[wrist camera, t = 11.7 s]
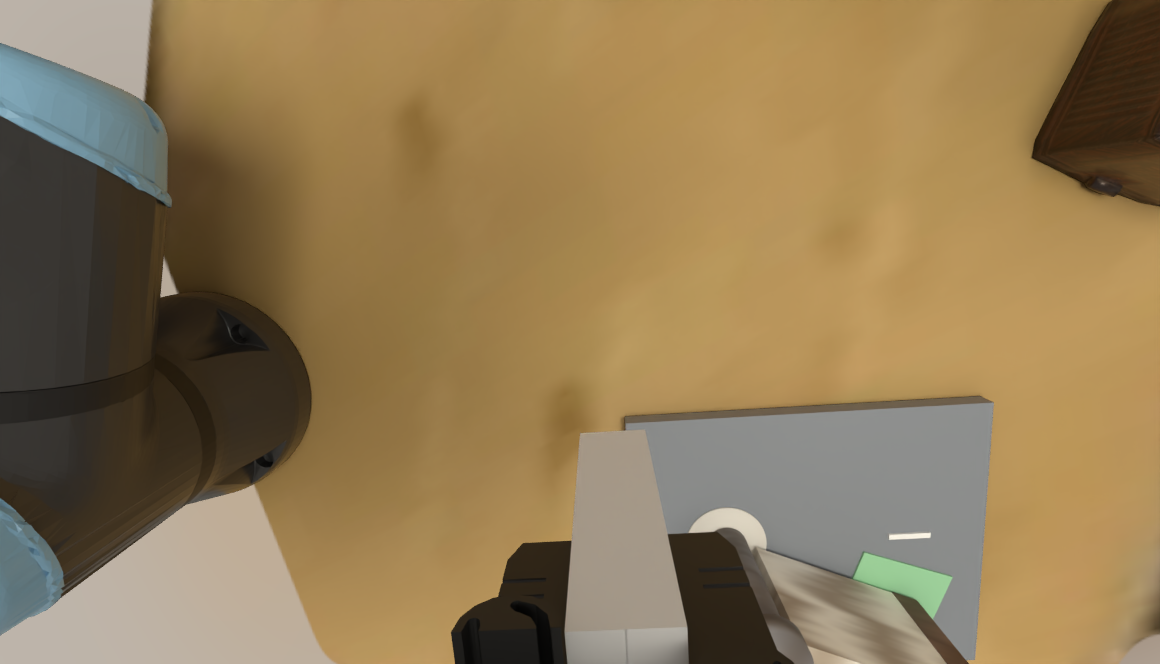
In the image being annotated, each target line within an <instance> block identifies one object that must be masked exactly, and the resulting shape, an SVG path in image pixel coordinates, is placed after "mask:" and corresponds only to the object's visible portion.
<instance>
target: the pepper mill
mask: <svg viewBox="0 0 1160 664" xmlns="http://www.w3.org/2000/svg"><path fill="white" fill-rule="evenodd" d="M1033 158H1035V159H1037V160H1039V161H1041V162H1043V163H1045V164H1047V165H1049V166H1051V167H1053V168H1055V169H1057V170H1059V171H1061V172H1063V173H1065V174H1067V175H1069V176H1071V177H1073V178H1075V179H1077V180H1079V181H1081V182H1083V183H1085V185H1086V187H1087V188H1089V189H1091V190H1093V191H1095V192H1098V193H1101V194H1104V195H1108V196H1111V197H1114V196H1115V195H1117V194H1119V195H1121V196H1124V197H1127V198H1130V199H1133V200H1136V201H1139V202H1141V203H1146V204H1151V205H1157V206H1160V0H1112V1H1111V2H1109V4H1108V5H1107V7H1106V8H1105V10H1104V12H1103V13H1102V15H1101V17H1100V18H1099V20H1098V21H1097V23H1096V25H1095V26H1094V28H1093V29H1092V31H1091V33H1090V35H1089V36H1088V38H1087V40H1086V42H1085V44H1084V46H1083V48H1082V50H1081V52H1080V54H1079V56H1078V58H1077V60H1076V62H1075V64H1074V66H1073V67H1072V69H1071V71H1070V73H1069V75H1068V77H1067V79H1066V81H1065V83H1064V85H1063V87H1062V89H1061V91H1060V93H1059V95H1058V97H1057V99H1056V100H1055V102H1054V104H1053V106H1052V108H1051V110H1050V112H1049V114H1048V116H1047V118H1046V120H1045V122H1044V124H1043V126H1042V128H1041V130H1040V132H1039V134H1038V136H1037V138H1036V140H1035V146H1034V152H1033Z"/></svg>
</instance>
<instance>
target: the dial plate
mask: <svg viewBox="0 0 1160 664" xmlns="http://www.w3.org/2000/svg"><path fill="white" fill-rule="evenodd" d="M993 406H994V402H991V401H989V400H987V399H985V398H983V397H981V396H972V397H955V398H937V399H920V400H903V401H885V402H868V403H850V404H833V405H816V406H798V407H781V408H764V409H746V410H729V411H711V412H694V413H677V414H659V415H642V416H625V431H627V430H645V432H646V436H647V441H648V446H649V450H650V455H651V460H652V464H653V469H654V474H655V478H656V483H657V488H658V492H659V497H660V502H661V506H662V511H663V516H664V520H665V525H666V530H667V534H679V533H700V532H715V531H716V530H718V529H721V528H733V529H736V530H738V531H740V532H741V533H742V534H743V535H744V537H745V539H746V541H747V543H748V545H749V548H750V550H751V552H752V554H753V553H754V551H755V548H756V547H757V548H760V549H763V550H766V551H769V552H772V553H775V554H778V555H781V556H784V557H787V558H790V559H793V560H796V561H799V562H802V563H805V564H808V565H811V566H814V567H817V568H820V569H823V570H826V571H829V572H832V573H835V574H838V575H840V576H843V577H846V578H849V579H852V580H855V581H858V582H861V583H864V584H867V585H870V586H873V587H876V588H879V589H882V590H885V591H888V592H891V593H892V592H894V593H897V594H900V595H903V596H906V597H909V598H912V599H915V600H917V601H918V602H919V603H920V605H921V606H922V607H923V608H924V609H925V611H926V612H927V613H928V614H929V616H930V617H931V618H932V619H933V620H934V622H935V623H936V624H937V625H938V627H939V628H940V629H941V630H942V632H943V633H944V634H945V635H946V636H947V638H948V639H949V640H950V641H951V643H952V644H953V645H954V646H955V647H956V649H957V650H958V651H959V652H960V654H961V655H962V656H963V657H964V658H965V660H975V652H976V639H977V625H978V611H979V598H980V584H981V570H982V556H983V543H984V529H985V515H986V502H987V488H988V474H989V461H990V447H991V433H992V419H993Z"/></svg>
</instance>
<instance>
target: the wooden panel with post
mask: <svg viewBox="0 0 1160 664" xmlns="http://www.w3.org/2000/svg"><path fill="white" fill-rule="evenodd" d="M715 532H718V533H719V534H721V535H722V536H723V537H724V538H725V539H726V540H728V541H729V542H730V543H731V544H732V545H733V546H735V547H736V550H737V552H738V555H739V557H740V560H741V562H742V564H743V569H744V570H745V572H746V574H747V577H748V579H749V582H750V587H752V589H753V591H754V594H755V596H756V599H757V601H758V604H759V606H760V609H761V611H762V614H763V616H764V618H765V621H766V623H767V626H768V628H769V631H770V633H771V636H772V638H773V641H774V643H775V645H776V648H777V650H778V651H779V652H781V653H782V654H783V655H785V656H786V657H787V658H789V659H790V660H792V661H793V662H794V664H969V663H968V662H967V661H966V660H965V658H964V657H963V656H962V655H961V654H960V652H959V651H958V650H957V649H956V647H955V646H954V645H953V644H952V643H951V641H950V640H949V639H948V638H947V636H946V635H945V634H944V633H943V632H942V630H941V629H940V628H939V627H938V625H937V624H936V623H935V622H934V620H933V619H932V618H931V617H930V616H929V614H928V613H927V612H926V611H925V609H924V608H923V607H922V606H921V605H920V603H919V602H918V601H917V600H915V599H912V598H909V597H906V596H903V595H900V594H897V593H894V592H892V593H891V592H888V591H885V590H882V589H879V588H876V587H873V586H870V585H867V584H864V583H861V582H858V581H855V580H852V579H849V578H846V577H843V576H840V575H838V574H835V573H832V572H829V571H826V570H823V569H820V568H817V567H814V566H811V565H808V564H805V563H802V562H799V561H796V560H793V559H790V558H787V557H784V556H781V555H778V554H775V553H772V552H769V551H766V550H763V549H760V548H757V547H756V548H755V551H754V553H753V554H752V552H751V550H750V548H749V545H748V543H747V541H746V539H745V537H744V535H743V534H742V533H741V532H740V531H738V530H736V529H733V528H721V529H718V530H716V531H715Z"/></svg>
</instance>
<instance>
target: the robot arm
mask: <svg viewBox="0 0 1160 664" xmlns="http://www.w3.org/2000/svg"><path fill="white" fill-rule="evenodd" d="M167 174H168V136H167V132H166V129H165V126H164V124H163V122H162V120H161V119H160V117H159V116H158V115H157V113H156V112H155V111H154V110H153V109H152V108H151V107H150V106H148V105H147V104H146V103H145V102H144V101H142V100H141V99H139V98H137V97H136V96H134V95H132V94H130V93H128V92H126V91H124V90H122V89H119V88H117V87H115V86H112V85H110V84H108V83H105V82H103V81H101V80H98V79H96V78H93V77H91V76H88V75H85V74H83V73H80V72H77V71H75V70H72V69H70V68H67V67H65V66H62V65H60V64H57V63H54V62H52V61H49V60H46V59H43V58H41V57H38V56H35V55H32V54H30V53H27V52H24V51H21V50H18V49H16V48H13V47H10V46H8V45H5V44H2V43H0V635H2V634H3V633H5V632H7V631H8V630H10V629H11V628H12V627H14V626H16V625H17V624H19V623H20V622H22V621H23V620H25V619H27V618H28V617H32V616H35V615H37V614H39V613H41V612H43V611H46V610H47V609H49V608H50V607H51V606H53V605H54V604H55V603H56V602H57V601H58V600H59V599H60V598H61V597H62V596H64V595H65V594H66V593H68V592H69V591H70V590H72V589H73V588H74V587H76V586H77V585H78V584H80V583H81V582H83V581H84V580H85V579H87V578H88V577H89V576H91V575H92V574H93V573H95V572H96V571H97V570H99V569H100V568H101V567H103V566H104V565H105V564H107V563H108V562H109V561H111V560H112V559H113V558H115V557H116V556H117V555H119V554H120V553H121V552H123V551H124V550H126V549H127V548H128V547H129V546H131V545H132V544H133V543H135V542H136V541H138V540H139V539H140V538H142V537H143V536H144V535H146V534H147V533H148V532H150V531H151V530H152V529H154V528H155V527H156V526H158V525H159V524H160V523H162V522H163V521H164V520H166V519H167V518H168V517H170V516H171V515H172V514H174V513H175V512H176V511H178V510H179V509H180V508H182V507H183V506H185V505H186V504H190V503H194V502H198V501H202V500H206V499H210V498H213V497H218V496H221V495H225V494H229V493H233V492H236V491H239V490H242V489H244V488H247V487H249V486H251V485H253V484H255V483H257V482H258V481H260V480H262V479H263V478H265V477H266V476H267V475H269V474H270V473H271V472H272V471H274V470H275V469H276V468H277V467H279V466H280V465H281V464H282V463H283V462H285V461H286V460H287V459H288V458H289V457H290V456H291V454H292V453H293V452H294V451H295V449H296V448H297V446H298V445H299V443H300V441H301V440H302V437H303V435H304V433H305V430H306V428H307V424H308V420H309V415H310V407H311V395H310V386H309V381H308V376H307V373H306V370H305V367H304V364H303V362H302V360H301V357H300V355H299V353H298V352H297V350H296V348H295V347H294V345H293V343H292V342H291V341H290V339H289V338H288V336H287V335H286V334H285V333H284V332H283V331H282V329H281V328H280V327H279V326H278V325H277V324H276V323H274V322H273V321H272V320H271V319H270V318H269V317H267V316H266V315H265V314H263V313H262V312H261V311H259V310H258V309H256V308H254V307H253V306H251V305H249V304H247V303H245V302H243V301H240V300H238V299H235V298H232V297H229V296H226V295H222V294H217V293H210V292H187V293H180V294H175V295H170V296H165V297H161V298H160V293H161V281H162V269H163V257H164V245H165V233H166V221H167V209H168V208H171V207H172V199H171V197H170V195H169V194H168V193H167ZM451 636H452V643H453V651H454V658H455V664H794V662H793V661H792V660H790V659H789V658H787V657H786V656H785V655H783V654H782V653H781V652H779V651H778V650H777V648H776V645H775V643H774V641H773V638H772V636H771V633H770V631H769V628H768V626H767V623H766V621H765V618H764V616H763V614H762V611H761V609H760V606H759V604H758V601H757V599H756V596H755V594H754V591H753V589H752V587H750V582H749V579H748V577H747V574H746V572H745V570H744V569H743V564H742V562H741V560H740V557H739V555H738V552H737V550H736V547H735V546H733V545H732V544H731V543H730V542H729V541H728V540H726V539H725V538H724V537H723V536H722V535H721V534H719V533H718V532H700V533H679V534H667V530H666V525H665V520H664V516H663V511H662V506H661V502H660V497H659V492H658V488H657V483H656V478H655V474H654V469H653V464H652V460H651V455H650V450H649V446H648V441H647V436H646V432H645V430H627V431H610V432H592V433H580V442H579V455H578V467H577V480H576V493H575V505H574V518H573V531H572V541H558V542H538V543H523V544H522V545H521V546H520V547H519V548H518V549H517V550H516V552H515V553H514V554H513V555H512V556H511V557H510V558H509V559H508V561H507V565H506V569H505V572H504V576H503V584H501V588H500V592H499V596H498V597H496V598H492V599H490V600H487V601H485V602H483V603H480V604H478V605H476V606H474V607H473V608H472V609H470V610H469V611H468V612H467V613H465V614H464V615H463V616H462V617H460V619H459V620H458V622H457V623H456V625H455V627H454V628H453V630H452V632H451Z"/></svg>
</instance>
